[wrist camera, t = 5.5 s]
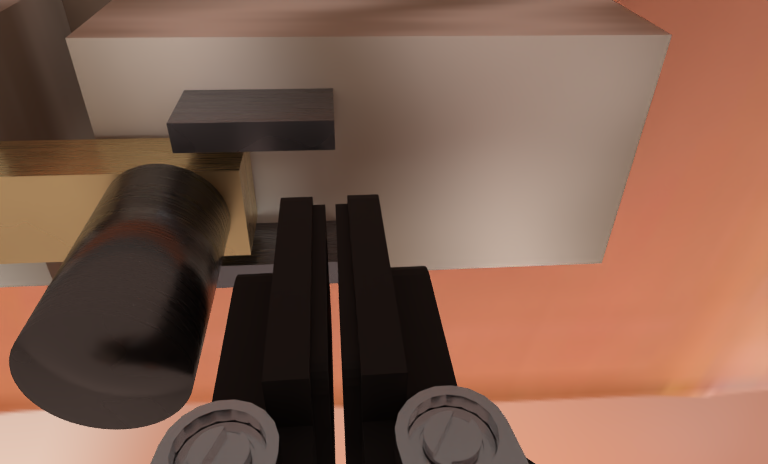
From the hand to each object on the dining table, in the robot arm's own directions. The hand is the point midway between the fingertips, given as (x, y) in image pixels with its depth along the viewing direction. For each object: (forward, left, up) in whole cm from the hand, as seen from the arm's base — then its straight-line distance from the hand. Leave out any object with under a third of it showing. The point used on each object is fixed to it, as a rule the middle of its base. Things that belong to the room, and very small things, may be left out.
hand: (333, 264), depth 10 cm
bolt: (+5, -2, -3) cm, 7 cm away
